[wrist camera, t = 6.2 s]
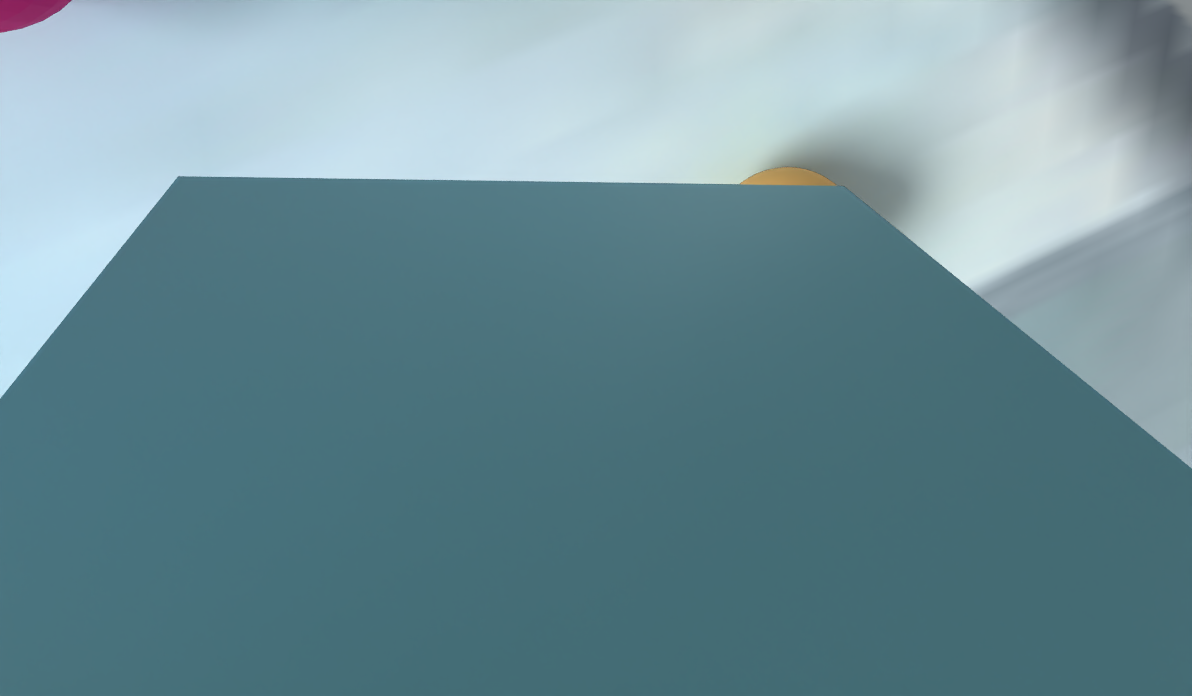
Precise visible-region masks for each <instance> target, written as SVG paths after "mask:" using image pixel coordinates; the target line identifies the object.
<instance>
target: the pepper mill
mask: <svg viewBox="0 0 1192 696" xmlns="http://www.w3.org/2000/svg"><path fill="white" fill-rule="evenodd" d="M70 1H71V0H0V33H1V32H7V31H11V30H16V29H21V28H24V27H27V26H30V25H33V24H35V23H38V22H41V21H43V20H45V19H46V18H48V17H50V16H52V15H53V14H55V13H57V12H58V11H60V10H61V9H62V8H64V7H65V6H66V5H67V4H68V3H69V2H70Z"/></svg>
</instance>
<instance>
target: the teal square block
mask: <svg viewBox="0 0 1192 696" xmlns="http://www.w3.org/2000/svg"><path fill="white" fill-rule="evenodd" d="M0 696H1192V468H1190V467H1189V466H1188V465H1187V464H1185V463H1184V462H1183V461H1182V460H1180V459H1179V458H1178V457H1177V456H1176V455H1174V454H1173V453H1172V452H1171V451H1169V450H1168V449H1167V448H1166V447H1164V446H1163V445H1162V444H1161V443H1160V442H1158V441H1157V440H1156V439H1155V438H1153V437H1152V436H1151V435H1150V434H1148V433H1147V432H1146V431H1145V430H1144V429H1142V428H1141V427H1140V426H1139V425H1137V424H1136V423H1135V422H1134V421H1132V420H1131V419H1130V418H1129V417H1128V416H1126V415H1125V414H1124V413H1123V412H1121V411H1120V410H1119V409H1118V408H1116V407H1115V406H1114V405H1113V404H1112V403H1110V402H1109V401H1108V400H1107V399H1105V398H1104V397H1103V396H1102V395H1100V394H1099V393H1098V392H1097V391H1096V390H1094V389H1093V388H1092V387H1091V386H1089V385H1088V384H1087V383H1086V382H1084V381H1083V380H1082V379H1081V378H1080V377H1078V376H1077V375H1076V374H1075V373H1073V372H1072V371H1071V370H1070V369H1068V368H1067V367H1066V366H1065V365H1064V364H1062V363H1061V362H1060V361H1059V360H1057V359H1056V358H1055V357H1054V356H1052V355H1051V354H1050V353H1049V352H1048V351H1046V350H1045V349H1044V348H1043V347H1041V346H1040V345H1039V344H1038V343H1036V342H1035V341H1034V340H1033V339H1032V338H1030V337H1029V336H1028V335H1027V334H1025V333H1024V332H1023V331H1022V330H1020V329H1019V328H1018V327H1017V326H1016V325H1014V324H1013V323H1012V322H1011V321H1009V320H1008V319H1007V318H1006V317H1004V316H1003V315H1002V314H1001V313H1000V312H998V311H997V310H996V309H995V308H993V307H992V306H991V305H990V304H988V303H987V302H986V301H985V300H984V299H982V298H981V297H980V296H979V295H977V294H976V293H975V292H974V291H972V290H971V289H970V288H969V287H968V286H966V285H965V284H964V283H963V282H961V281H960V280H959V279H958V278H956V277H955V276H954V275H953V274H952V273H950V272H949V271H948V270H947V269H945V268H944V267H943V266H942V265H940V264H939V263H938V262H937V261H936V260H934V259H933V258H932V257H931V256H929V255H928V254H927V253H926V252H924V251H923V250H922V249H921V248H920V247H918V246H917V245H916V244H915V243H913V242H912V241H911V240H910V239H908V238H907V237H906V236H905V235H904V234H902V233H901V232H900V231H899V230H897V229H896V228H895V227H894V226H892V225H891V224H890V223H889V222H888V221H886V220H885V219H884V218H883V217H881V216H880V215H879V214H878V213H876V212H875V211H874V210H873V209H872V208H870V207H869V206H868V205H867V204H865V203H864V202H863V201H862V200H860V199H859V198H858V197H857V196H856V195H854V194H853V193H852V192H851V191H849V190H848V189H847V188H846V187H844V186H814V185H744V184H674V183H604V182H534V181H464V180H394V179H324V178H254V177H184V176H178V177H177V179H176V180H175V181H174V182H173V184H172V185H171V186H170V187H169V189H168V190H167V191H166V192H165V194H164V195H163V196H162V197H161V199H160V200H159V201H158V202H157V204H156V205H155V206H154V207H153V209H152V210H151V211H150V212H149V214H148V215H147V216H146V217H145V219H144V220H143V221H142V222H141V224H140V225H139V226H138V227H137V229H136V230H135V231H134V232H133V234H132V235H131V236H130V237H129V239H128V240H127V241H126V242H125V244H124V245H123V246H122V247H121V249H120V250H119V251H118V252H117V254H116V255H115V256H114V257H113V259H112V260H111V261H110V262H109V264H108V265H107V266H106V267H105V269H104V270H103V271H102V272H101V274H100V275H99V276H98V277H97V279H96V280H95V281H94V282H93V284H92V285H91V286H90V287H89V289H88V290H87V291H86V292H85V294H84V295H83V296H82V297H81V299H80V300H79V301H78V302H77V304H76V305H75V306H74V307H73V309H72V310H71V311H70V312H69V314H68V315H67V316H66V317H65V319H64V320H63V321H62V322H61V324H60V325H59V326H58V327H57V329H56V330H55V331H54V332H53V334H52V335H51V336H50V337H49V339H48V340H47V341H46V342H45V344H44V345H43V346H42V347H41V349H40V350H39V351H38V352H37V354H36V355H35V356H34V357H33V359H32V360H31V361H30V362H29V364H28V365H27V366H26V367H25V369H24V370H23V371H22V372H21V374H20V375H19V376H18V377H17V379H16V380H15V381H14V382H13V384H12V385H11V386H10V387H9V389H8V390H7V391H6V392H5V394H4V395H3V396H2V397H1V399H0Z"/></svg>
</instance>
